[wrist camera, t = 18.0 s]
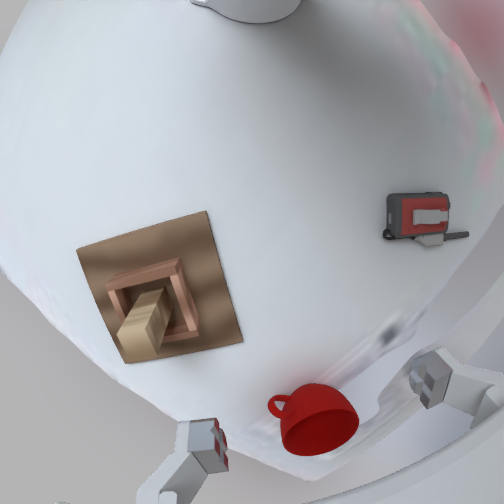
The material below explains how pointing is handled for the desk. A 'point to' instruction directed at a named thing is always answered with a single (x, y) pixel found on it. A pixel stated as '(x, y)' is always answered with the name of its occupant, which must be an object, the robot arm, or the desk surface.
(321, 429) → the ceramic cup
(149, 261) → the wooden peg socket board
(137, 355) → the wooden peg
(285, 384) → the desk surface
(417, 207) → the walkie-talkie
